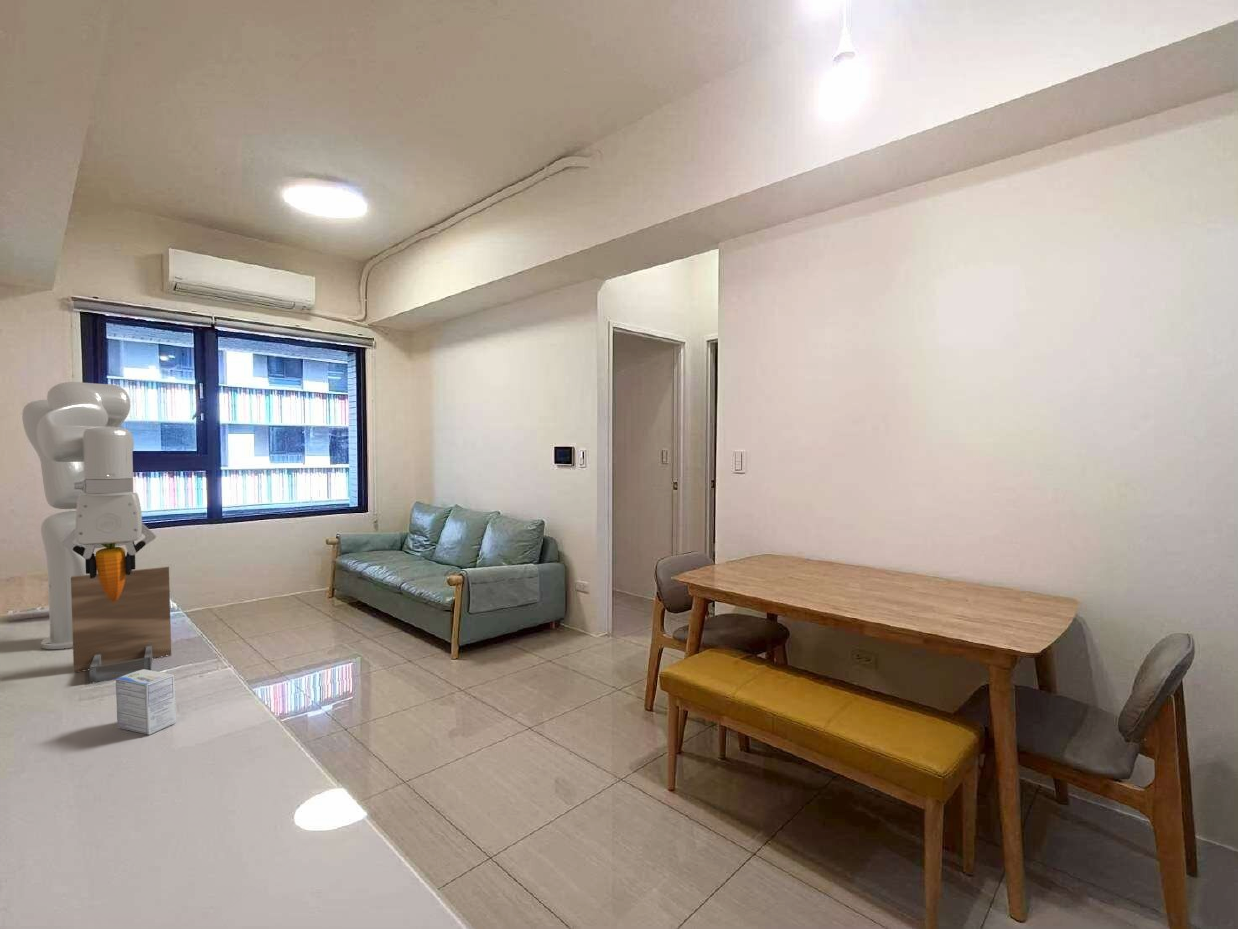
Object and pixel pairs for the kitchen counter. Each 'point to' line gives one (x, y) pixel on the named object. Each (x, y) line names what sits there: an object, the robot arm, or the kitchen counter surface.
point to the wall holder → (120, 624)
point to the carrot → (111, 570)
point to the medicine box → (145, 701)
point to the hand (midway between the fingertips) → (111, 574)
